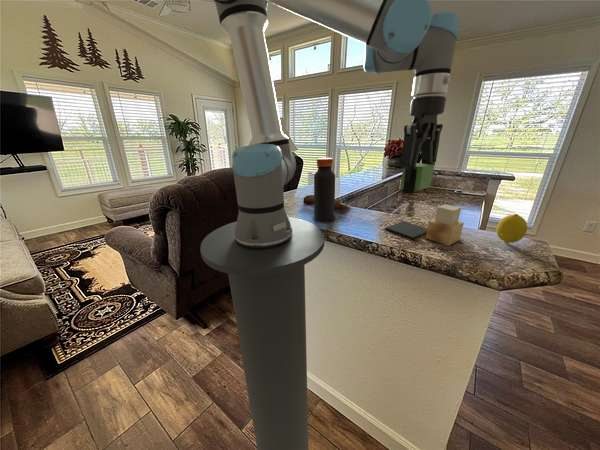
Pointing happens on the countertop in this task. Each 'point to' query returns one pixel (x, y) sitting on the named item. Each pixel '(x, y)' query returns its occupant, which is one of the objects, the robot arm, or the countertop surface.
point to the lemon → (511, 228)
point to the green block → (421, 176)
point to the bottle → (324, 190)
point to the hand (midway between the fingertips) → (414, 191)
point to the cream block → (447, 214)
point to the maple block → (444, 232)
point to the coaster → (407, 229)
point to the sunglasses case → (337, 204)
